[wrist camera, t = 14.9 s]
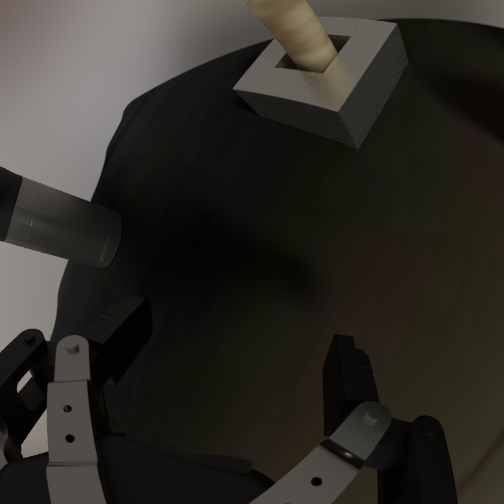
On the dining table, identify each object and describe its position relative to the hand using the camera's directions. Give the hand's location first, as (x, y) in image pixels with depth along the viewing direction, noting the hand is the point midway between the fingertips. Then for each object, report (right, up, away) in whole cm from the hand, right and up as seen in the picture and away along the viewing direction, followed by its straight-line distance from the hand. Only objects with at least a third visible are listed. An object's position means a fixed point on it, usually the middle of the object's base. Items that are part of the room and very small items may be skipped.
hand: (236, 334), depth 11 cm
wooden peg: (+9, +20, +12) cm, 24 cm away
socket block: (+9, +20, +12) cm, 24 cm away
